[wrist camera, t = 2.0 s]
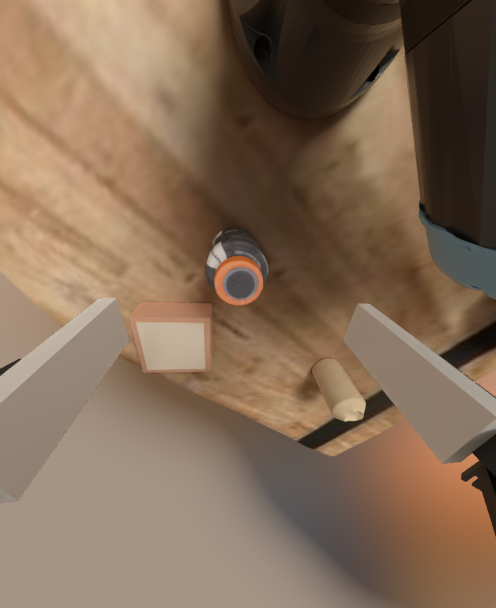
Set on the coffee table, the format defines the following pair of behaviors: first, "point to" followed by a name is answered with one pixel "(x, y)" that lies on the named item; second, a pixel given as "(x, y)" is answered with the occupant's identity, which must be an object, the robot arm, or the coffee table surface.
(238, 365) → the coffee table surface
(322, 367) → the candle
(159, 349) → the riser
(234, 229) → the pill bottle
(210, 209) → the coffee table surface
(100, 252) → the coffee table surface
